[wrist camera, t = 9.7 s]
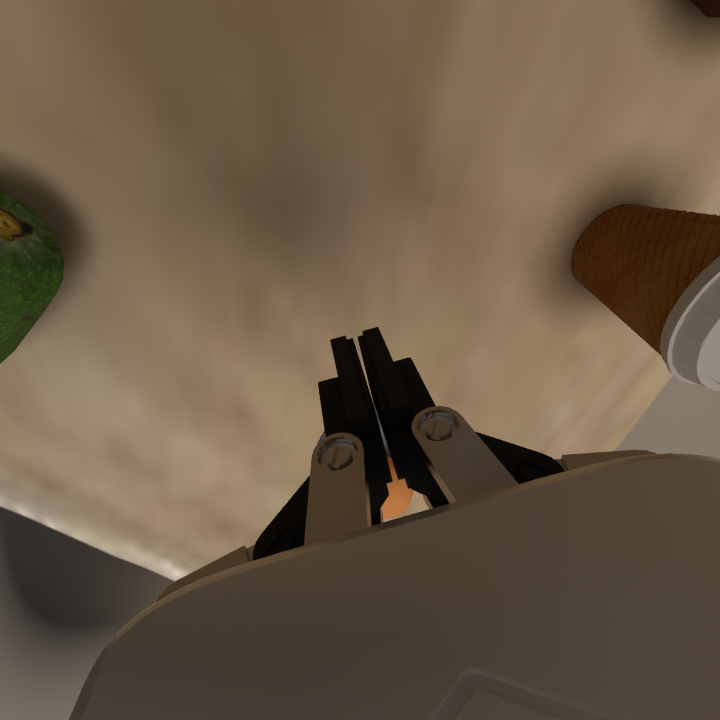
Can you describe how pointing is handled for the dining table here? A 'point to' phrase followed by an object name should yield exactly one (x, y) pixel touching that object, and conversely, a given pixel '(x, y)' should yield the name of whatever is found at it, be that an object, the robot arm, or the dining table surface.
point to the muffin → (708, 7)
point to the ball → (396, 495)
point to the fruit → (24, 271)
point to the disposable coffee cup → (659, 282)
